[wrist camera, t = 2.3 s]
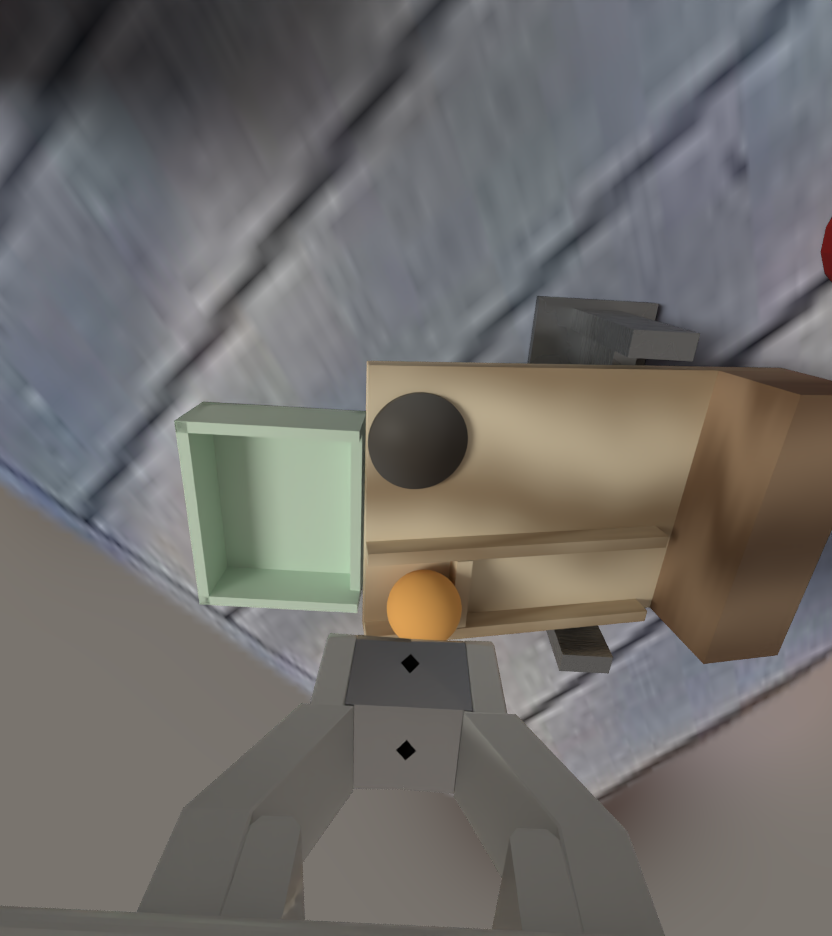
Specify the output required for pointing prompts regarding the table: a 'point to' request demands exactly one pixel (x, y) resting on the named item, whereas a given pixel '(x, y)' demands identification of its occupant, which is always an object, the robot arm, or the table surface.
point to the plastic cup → (827, 251)
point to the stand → (599, 343)
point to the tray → (275, 504)
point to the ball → (424, 606)
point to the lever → (600, 496)
